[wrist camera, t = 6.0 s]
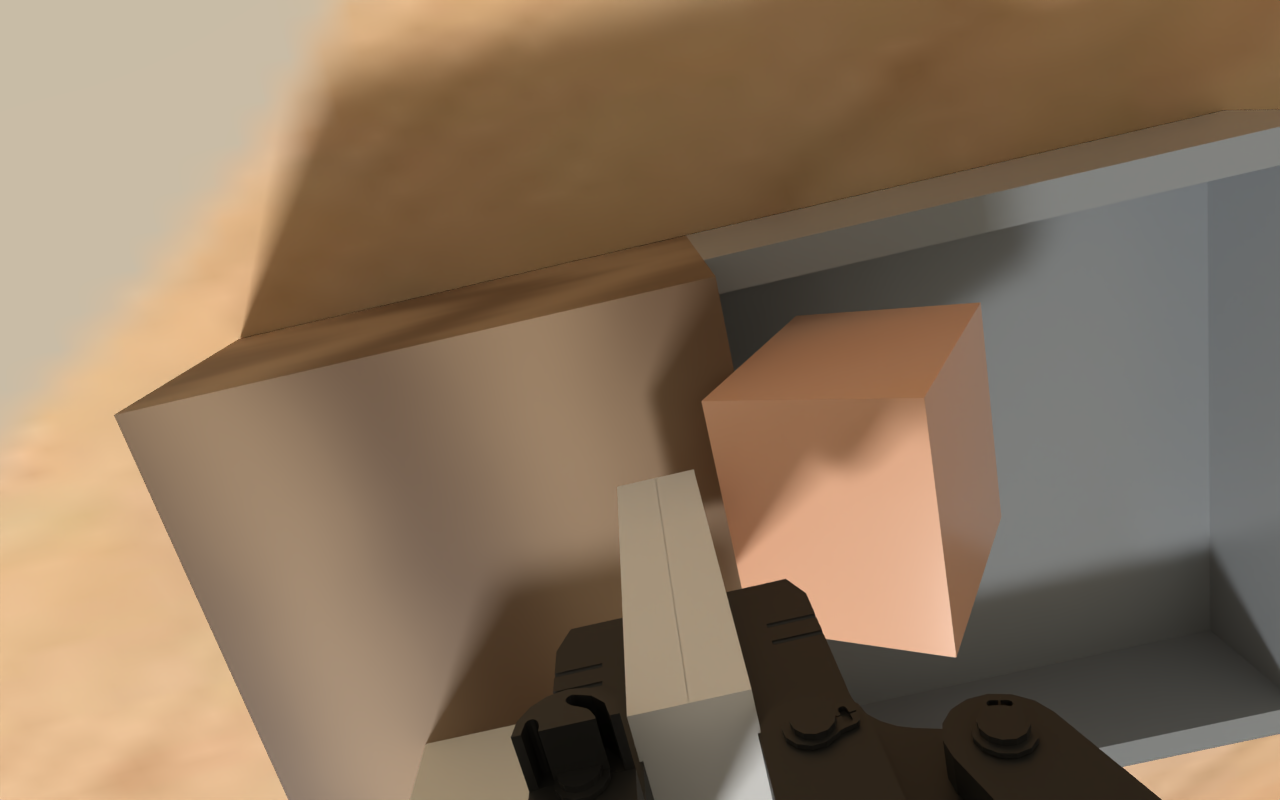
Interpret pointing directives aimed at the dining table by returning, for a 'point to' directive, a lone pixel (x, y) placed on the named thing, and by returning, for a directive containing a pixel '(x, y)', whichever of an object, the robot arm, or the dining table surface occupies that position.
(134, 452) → the block
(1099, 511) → the box
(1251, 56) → the dining table surface
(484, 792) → the cream block
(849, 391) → the salmon orange block
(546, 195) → the dining table surface
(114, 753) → the dining table surface
